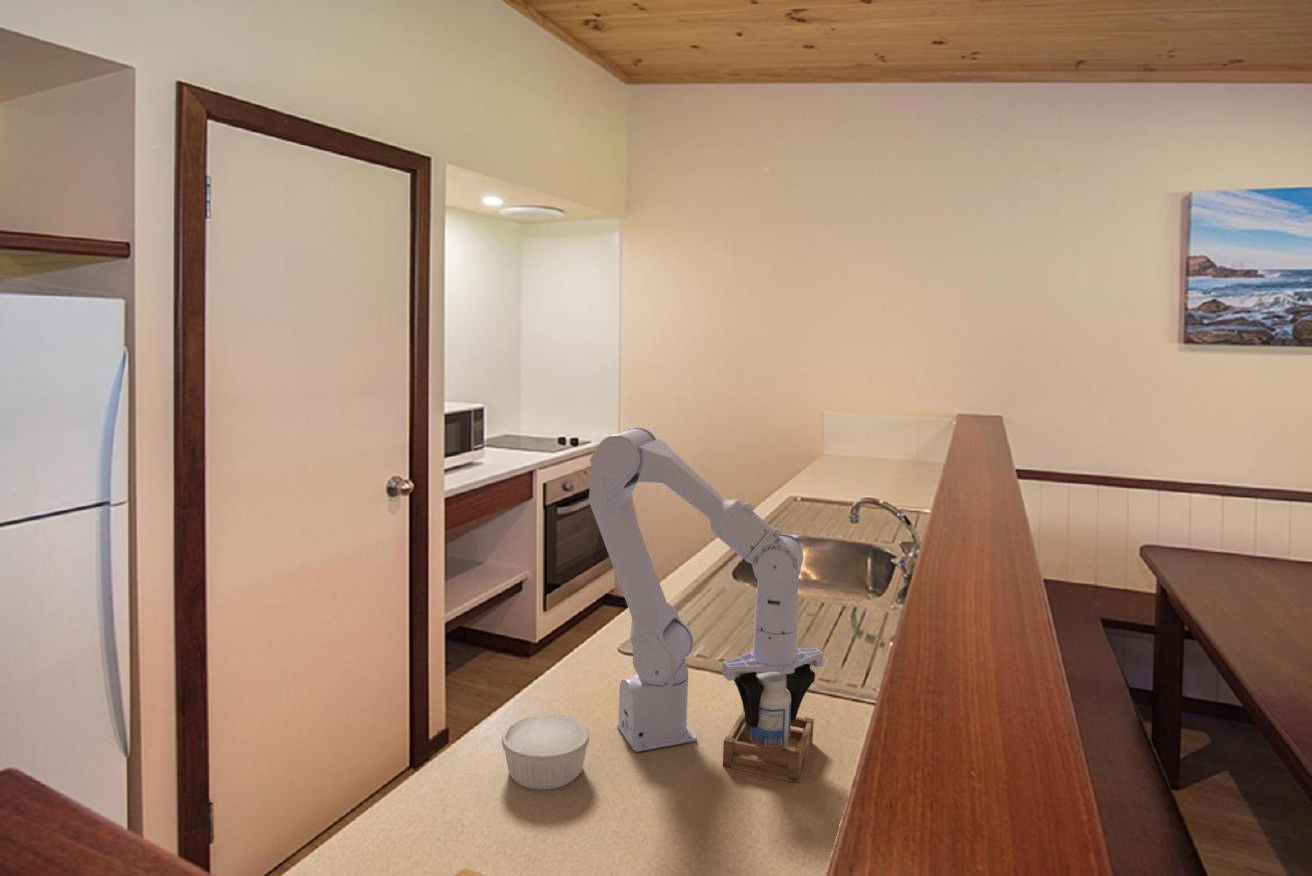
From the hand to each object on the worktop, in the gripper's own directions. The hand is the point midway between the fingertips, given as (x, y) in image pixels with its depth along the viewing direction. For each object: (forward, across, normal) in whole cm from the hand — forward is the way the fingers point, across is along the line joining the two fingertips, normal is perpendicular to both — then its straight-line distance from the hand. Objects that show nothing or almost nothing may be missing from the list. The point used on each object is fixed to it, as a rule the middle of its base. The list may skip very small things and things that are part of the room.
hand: (770, 720), depth 111 cm
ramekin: (+5, -30, +6) cm, 31 cm away
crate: (+5, 0, 0) cm, 5 cm away
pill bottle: (+3, 0, 0) cm, 3 cm away
